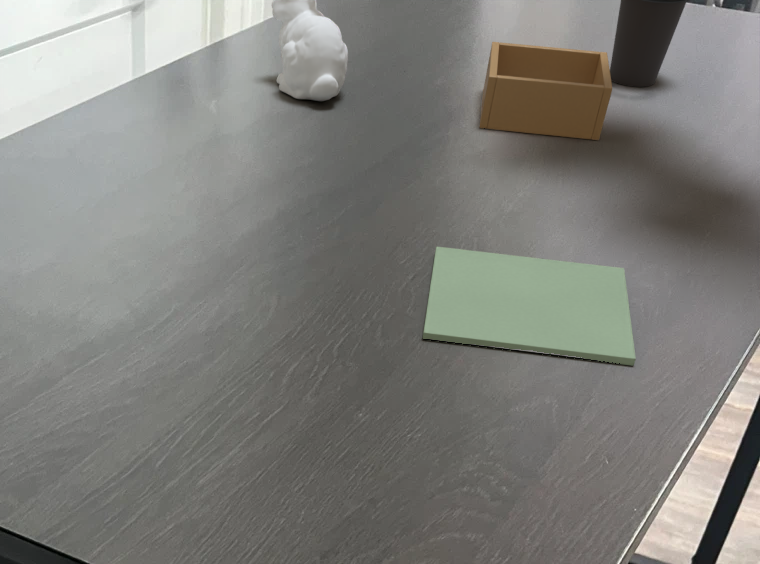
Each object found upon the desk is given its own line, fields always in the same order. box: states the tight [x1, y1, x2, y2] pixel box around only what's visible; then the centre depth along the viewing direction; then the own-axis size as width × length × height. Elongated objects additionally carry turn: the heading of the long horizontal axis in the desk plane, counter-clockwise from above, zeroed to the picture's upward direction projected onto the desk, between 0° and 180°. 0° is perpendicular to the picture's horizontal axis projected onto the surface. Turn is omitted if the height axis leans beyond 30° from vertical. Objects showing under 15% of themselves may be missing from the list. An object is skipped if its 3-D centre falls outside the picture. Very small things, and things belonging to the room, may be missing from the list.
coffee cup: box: [609, 0, 690, 88], centre depth 127 cm, size 8×8×10 cm
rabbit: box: [271, 0, 349, 102], centre depth 120 cm, size 12×9×12 cm
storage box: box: [479, 41, 613, 141], centre depth 119 cm, size 13×13×5 cm
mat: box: [422, 246, 636, 367], centre depth 89 cm, size 16×16×1 cm
